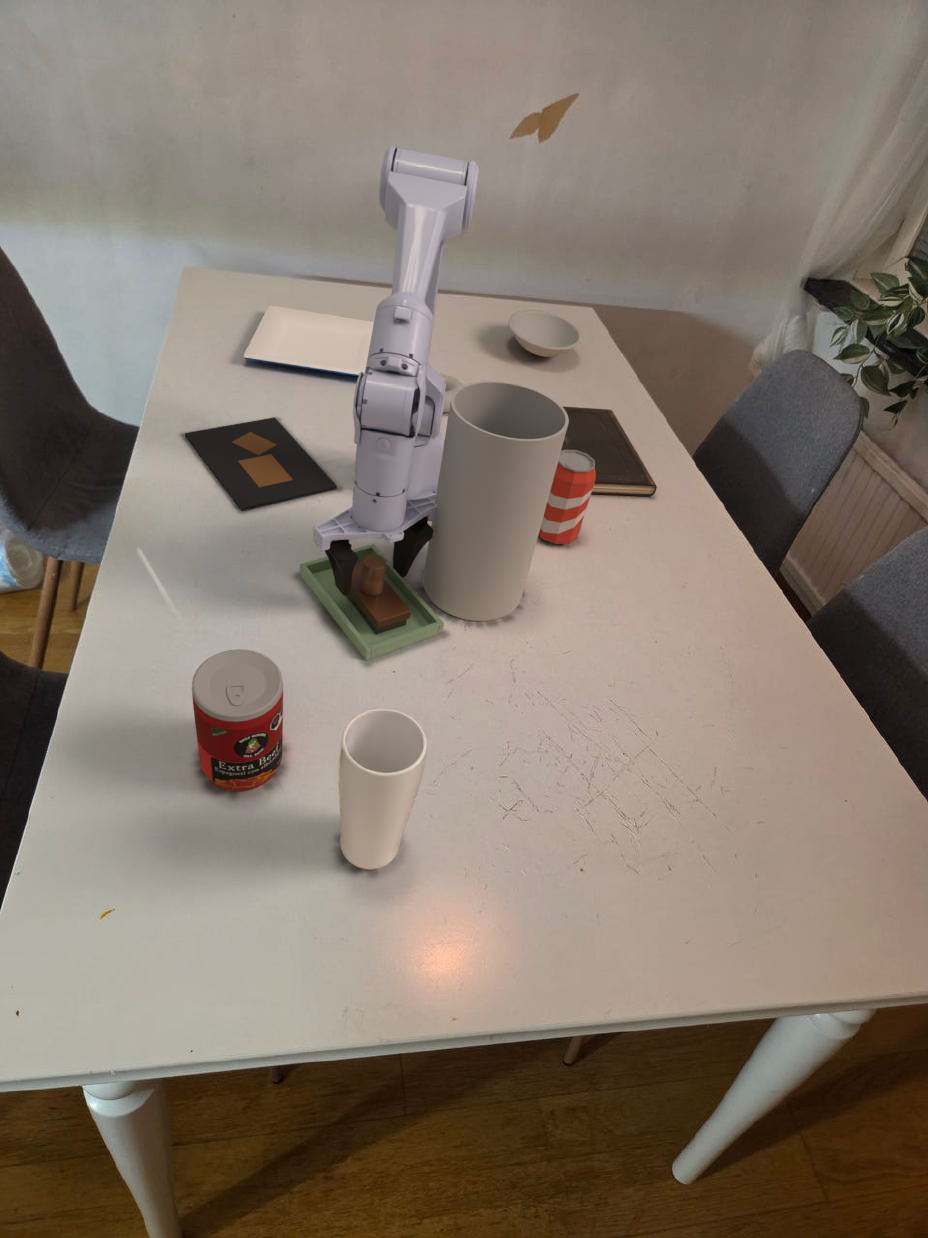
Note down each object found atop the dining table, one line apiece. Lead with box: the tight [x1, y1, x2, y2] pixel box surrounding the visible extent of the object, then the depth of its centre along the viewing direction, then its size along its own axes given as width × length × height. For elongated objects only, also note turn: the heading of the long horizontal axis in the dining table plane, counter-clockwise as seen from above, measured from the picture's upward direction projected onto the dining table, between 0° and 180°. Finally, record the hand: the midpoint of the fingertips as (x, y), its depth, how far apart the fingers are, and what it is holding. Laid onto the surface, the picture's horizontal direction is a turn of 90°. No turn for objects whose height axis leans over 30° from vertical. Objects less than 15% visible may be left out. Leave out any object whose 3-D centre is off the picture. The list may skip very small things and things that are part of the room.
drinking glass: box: [337, 708, 428, 870], centre depth 67 cm, size 7×7×15 cm
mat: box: [184, 417, 338, 512], centre depth 113 cm, size 14×20×1 cm
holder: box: [299, 543, 445, 661], centre depth 94 cm, size 10×16×2 cm, turn 35°
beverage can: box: [538, 450, 596, 545], centre depth 108 cm, size 6×6×12 cm
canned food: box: [191, 648, 284, 792], centre depth 72 cm, size 8×8×11 cm
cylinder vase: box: [422, 380, 569, 622], centre depth 92 cm, size 12×12×25 cm
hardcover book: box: [561, 405, 658, 498], centre depth 129 cm, size 16×23×2 cm
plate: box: [242, 305, 374, 377], centre depth 142 cm, size 22×22×2 cm
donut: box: [438, 372, 464, 413], centre depth 134 cm, size 10×4×10 cm
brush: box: [346, 554, 411, 635], centre depth 92 cm, size 11×4×6 cm, turn 34°
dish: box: [507, 309, 583, 358], centre depth 155 cm, size 18×14×5 cm
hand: (371, 580), depth 92 cm, fingers open, 7 cm apart
